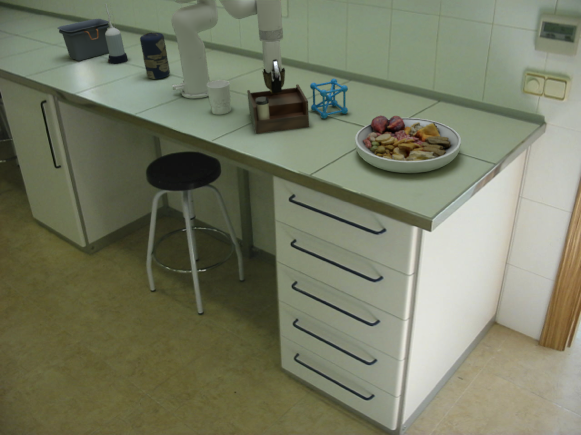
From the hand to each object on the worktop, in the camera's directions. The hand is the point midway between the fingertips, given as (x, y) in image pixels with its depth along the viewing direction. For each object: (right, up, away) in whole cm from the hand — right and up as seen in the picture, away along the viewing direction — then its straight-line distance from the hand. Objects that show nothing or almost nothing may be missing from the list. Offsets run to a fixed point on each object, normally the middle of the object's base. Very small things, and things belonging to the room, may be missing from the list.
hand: (274, 88), depth 196 cm
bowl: (+39, -24, -22) cm, 51 cm away
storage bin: (-87, +32, +80) cm, 122 cm away
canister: (-49, +15, +49) cm, 71 cm away
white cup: (-19, -5, +14) cm, 24 cm away
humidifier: (-72, +27, +70) cm, 104 cm away
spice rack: (+1, -10, +3) cm, 11 cm away
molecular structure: (+18, -7, +7) cm, 21 cm away
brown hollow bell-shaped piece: (0, -2, +1) cm, 2 cm away
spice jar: (-4, -11, -3) cm, 12 cm away
